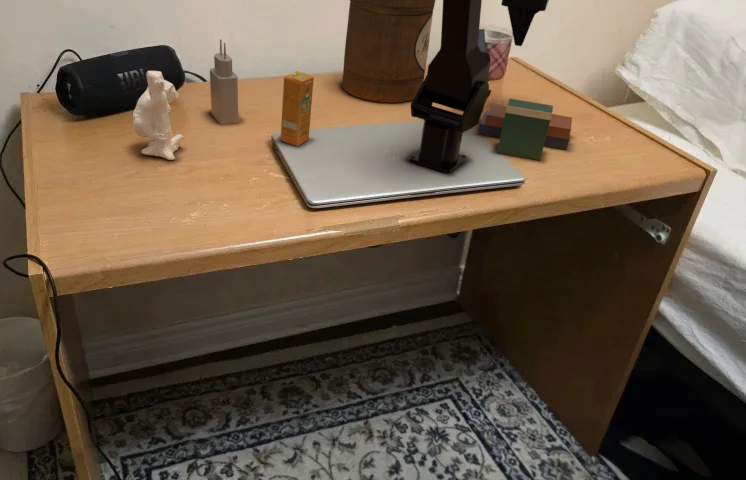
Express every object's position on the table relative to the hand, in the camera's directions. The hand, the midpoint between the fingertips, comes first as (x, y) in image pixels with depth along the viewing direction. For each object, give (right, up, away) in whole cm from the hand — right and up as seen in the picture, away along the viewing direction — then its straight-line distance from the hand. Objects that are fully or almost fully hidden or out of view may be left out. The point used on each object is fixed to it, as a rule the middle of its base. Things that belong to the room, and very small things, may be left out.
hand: (518, 45), depth 105 cm
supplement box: (-35, -16, -5) cm, 39 cm away
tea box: (0, -17, -2) cm, 17 cm away
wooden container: (-20, -2, +17) cm, 27 cm away
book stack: (+1, -14, +3) cm, 14 cm away
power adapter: (-47, -11, +1) cm, 48 cm away
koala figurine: (-54, -19, -11) cm, 58 cm away
